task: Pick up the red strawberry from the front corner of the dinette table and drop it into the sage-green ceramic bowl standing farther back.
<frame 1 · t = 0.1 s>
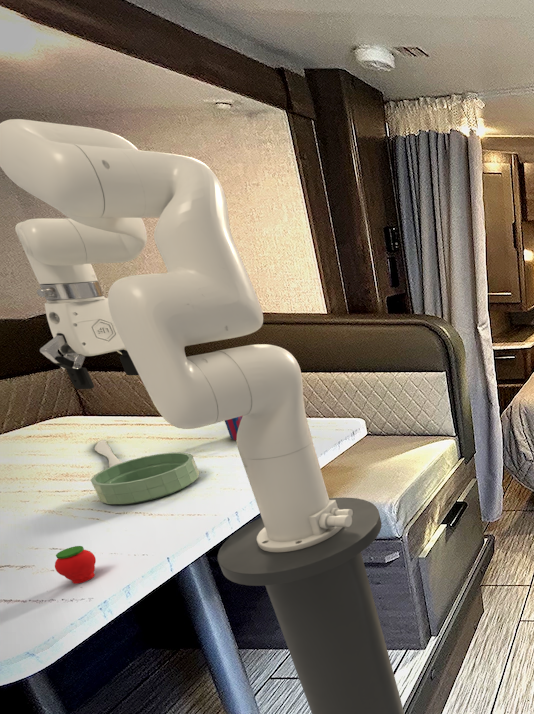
hand: (111, 381, 99), 19 cm above the table, tool pointing down, fingers open, 9 cm apart
strawberry: (84, 578, 71), on the table
mug: (246, 438, 121), on the table
bowl: (152, 488, 97), on the table
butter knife: (108, 456, 112), on the table
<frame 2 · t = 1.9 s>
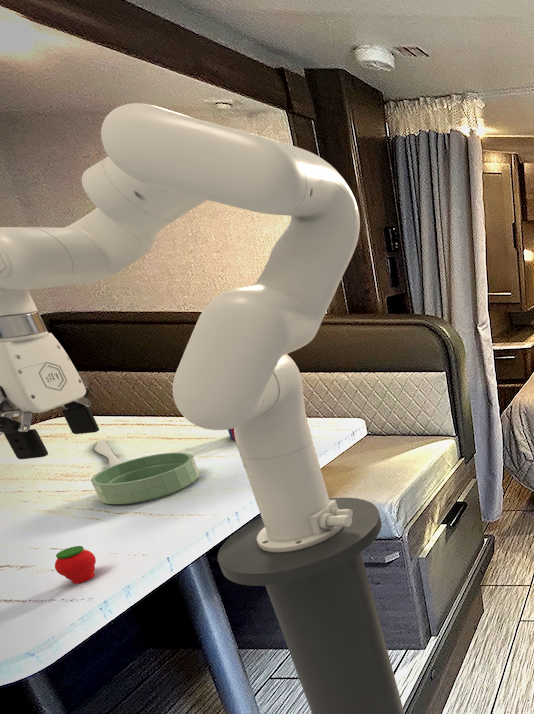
hand: (61, 444, 74), 17 cm above the table, tool pointing down, fingers open, 9 cm apart
nothing on the table moved.
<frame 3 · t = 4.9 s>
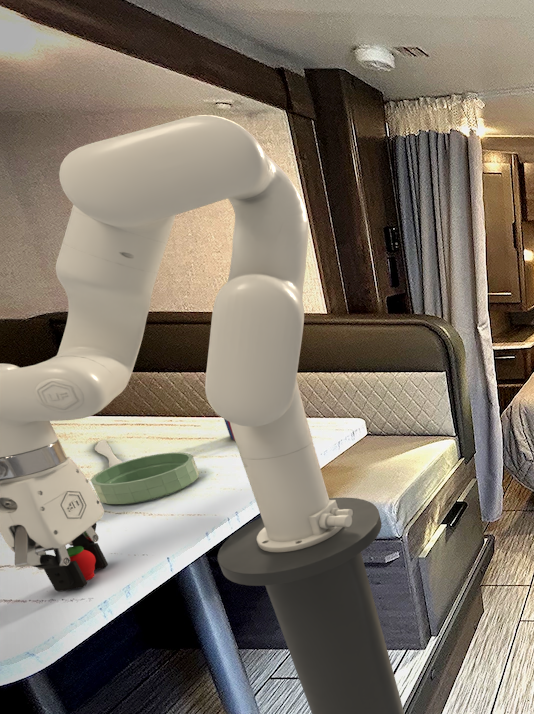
hand: (82, 577, 71), 0 cm above the table, tool pointing down, fingers closed on strawberry, 3 cm apart
strawberry: (83, 578, 71), on the table, touching gripper
everything else where it was.
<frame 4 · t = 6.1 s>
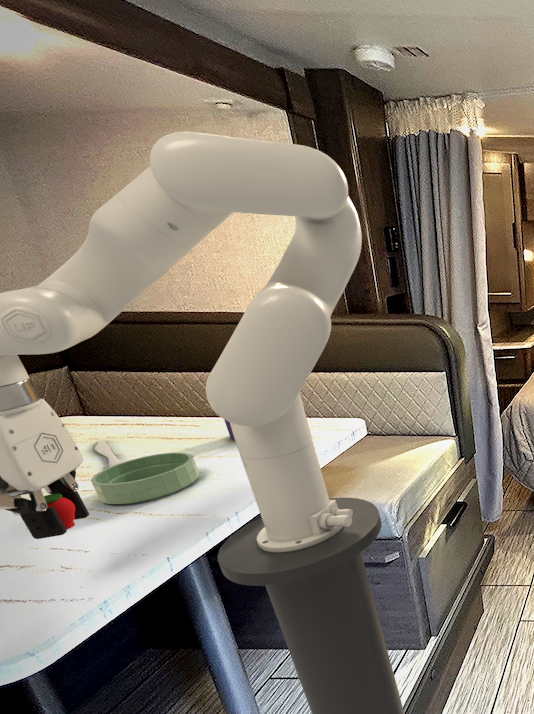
hand: (62, 525, 68), 9 cm above the table, tool pointing down, fingers closed on strawberry, 3 cm apart
strawberry: (63, 527, 68), point 8 cm above the table, touching gripper
everything else where it was.
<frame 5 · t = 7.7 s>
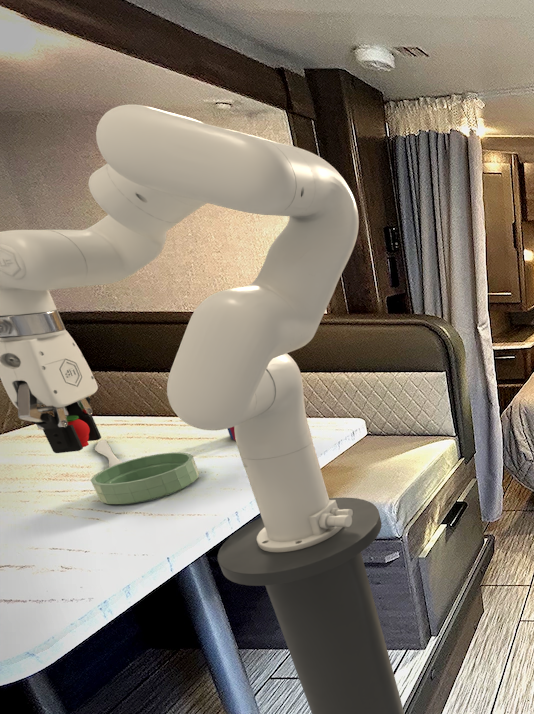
hand: (78, 444, 77), 15 cm above the table, tool pointing down, fingers closed on strawberry, 3 cm apart
strawberry: (78, 446, 77), point 15 cm above the table, touching gripper
everything else where it was.
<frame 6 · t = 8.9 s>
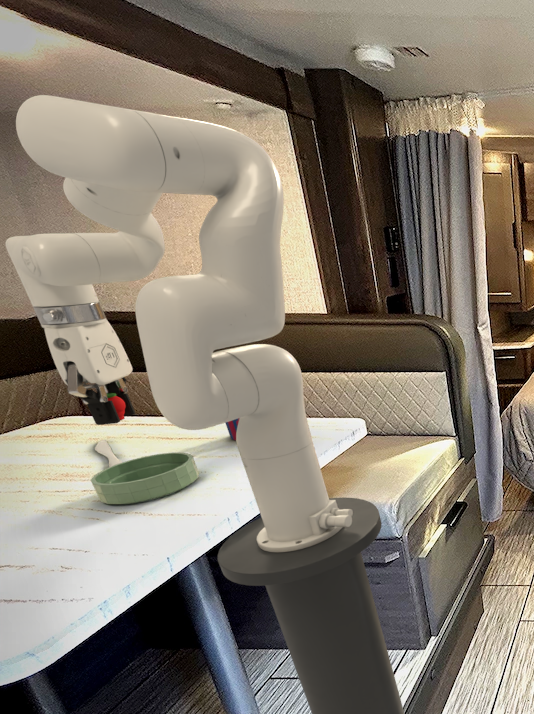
hand: (116, 418, 89), 15 cm above the table, tool pointing down, fingers closed on strawberry, 3 cm apart
strawberry: (116, 419, 89), point 15 cm above the table, touching gripper
everything else where it was.
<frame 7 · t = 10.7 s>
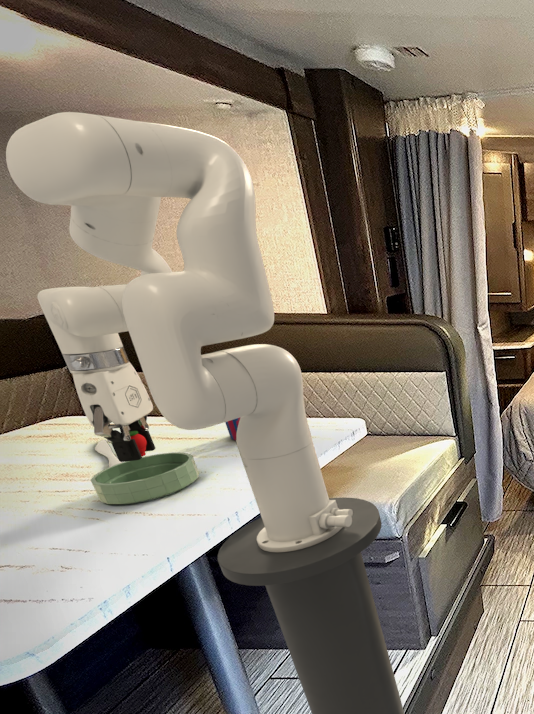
hand: (138, 454, 94), 7 cm above the table, tool pointing down, fingers closed on strawberry, 3 cm apart
strawberry: (138, 456, 94), point 7 cm above the table, touching gripper
everything else where it was.
when the fingers open (3 cm above the table, at t = 12.3 s): strawberry drops 2 cm, resting on bowl.
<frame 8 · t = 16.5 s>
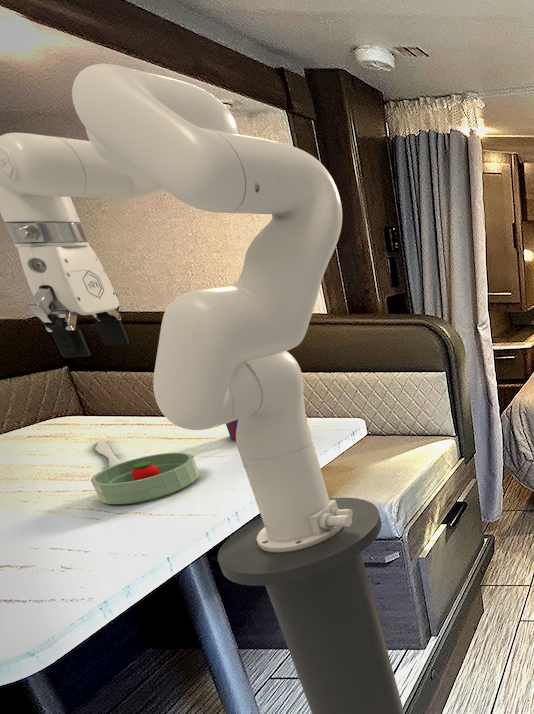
hand: (98, 350, 80), 28 cm above the table, tool pointing down, fingers open, 9 cm apart
strawberry: (151, 485, 97), point 1 cm above the table, touching bowl
everything else where it was.
at the end: strawberry inside the target area in the bowl (0.1 cm from its centre), point 0.6 cm above the bowl's base; the gripper is holding nothing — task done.
